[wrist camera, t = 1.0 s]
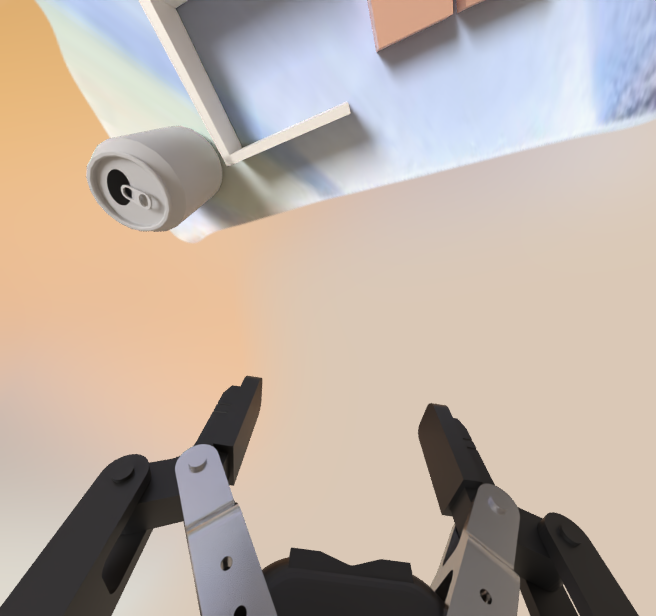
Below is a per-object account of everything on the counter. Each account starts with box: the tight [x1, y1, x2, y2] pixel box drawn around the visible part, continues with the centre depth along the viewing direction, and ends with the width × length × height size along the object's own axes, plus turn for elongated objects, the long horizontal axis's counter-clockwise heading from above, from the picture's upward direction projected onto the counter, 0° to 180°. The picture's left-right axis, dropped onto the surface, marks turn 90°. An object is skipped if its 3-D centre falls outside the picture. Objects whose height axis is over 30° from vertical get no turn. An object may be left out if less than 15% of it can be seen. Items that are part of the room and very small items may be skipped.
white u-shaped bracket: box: [139, 0, 351, 167], centre depth 23 cm, size 13×13×4 cm
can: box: [86, 126, 222, 232], centre depth 26 cm, size 8×8×12 cm
